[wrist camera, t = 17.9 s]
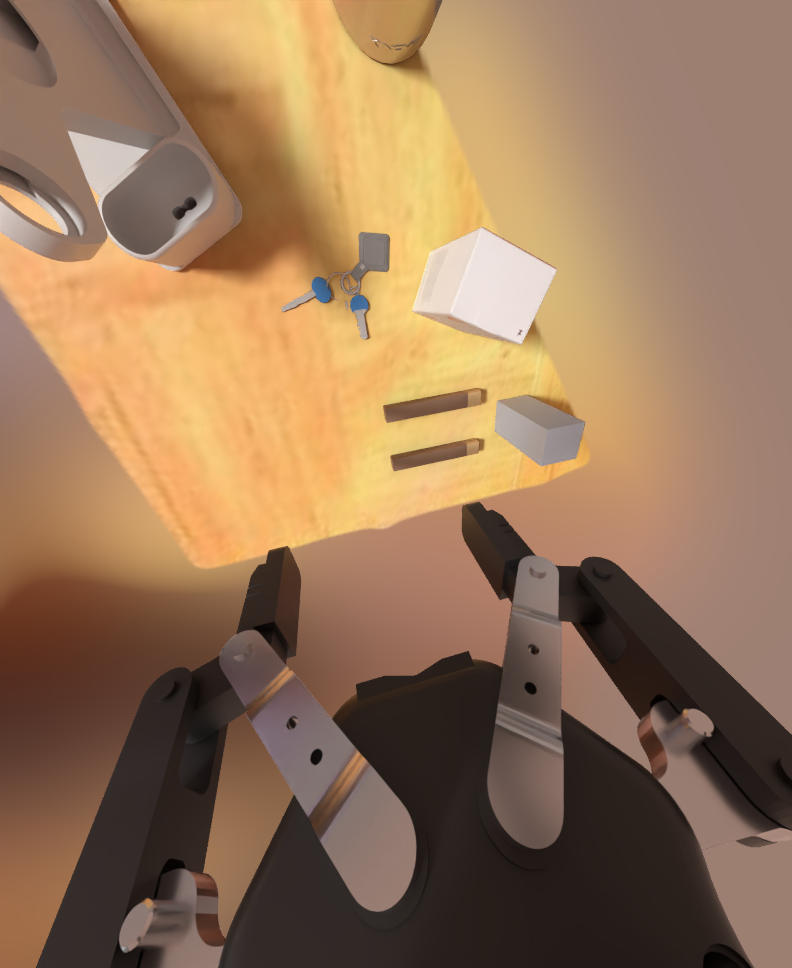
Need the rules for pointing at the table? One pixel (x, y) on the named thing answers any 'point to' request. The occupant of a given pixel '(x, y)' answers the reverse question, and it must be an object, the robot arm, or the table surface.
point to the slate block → (538, 429)
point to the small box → (484, 286)
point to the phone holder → (100, 141)
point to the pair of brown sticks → (426, 408)
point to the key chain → (354, 276)
